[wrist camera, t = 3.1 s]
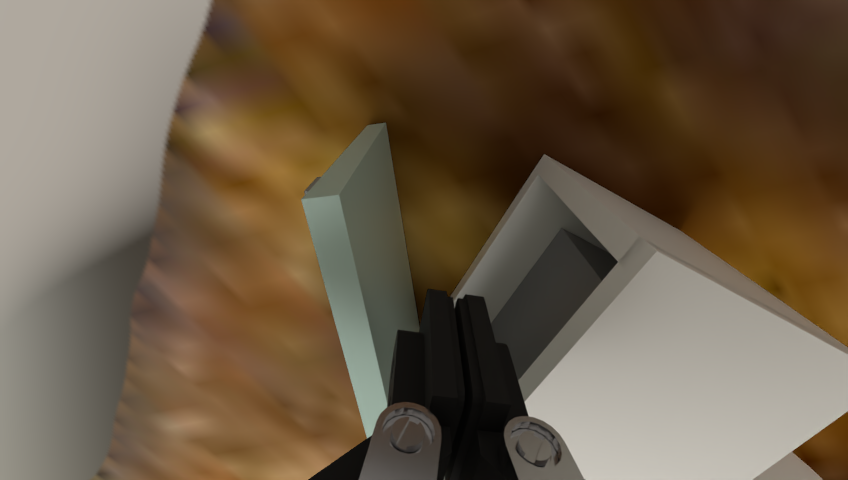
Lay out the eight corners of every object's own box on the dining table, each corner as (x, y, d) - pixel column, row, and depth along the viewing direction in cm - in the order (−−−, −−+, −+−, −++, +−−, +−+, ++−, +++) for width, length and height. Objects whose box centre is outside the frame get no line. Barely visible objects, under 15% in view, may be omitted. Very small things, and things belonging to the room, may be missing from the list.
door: (385, 122, 21) (338, 194, 10) (420, 331, 27) (414, 519, 16) (352, 126, 21) (271, 203, 10) (394, 334, 27) (370, 522, 16)
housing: (680, 230, 24) (892, 378, 13) (545, 383, 29) (614, 578, 18) (544, 153, 22) (656, 251, 11) (426, 332, 27) (425, 515, 16)
